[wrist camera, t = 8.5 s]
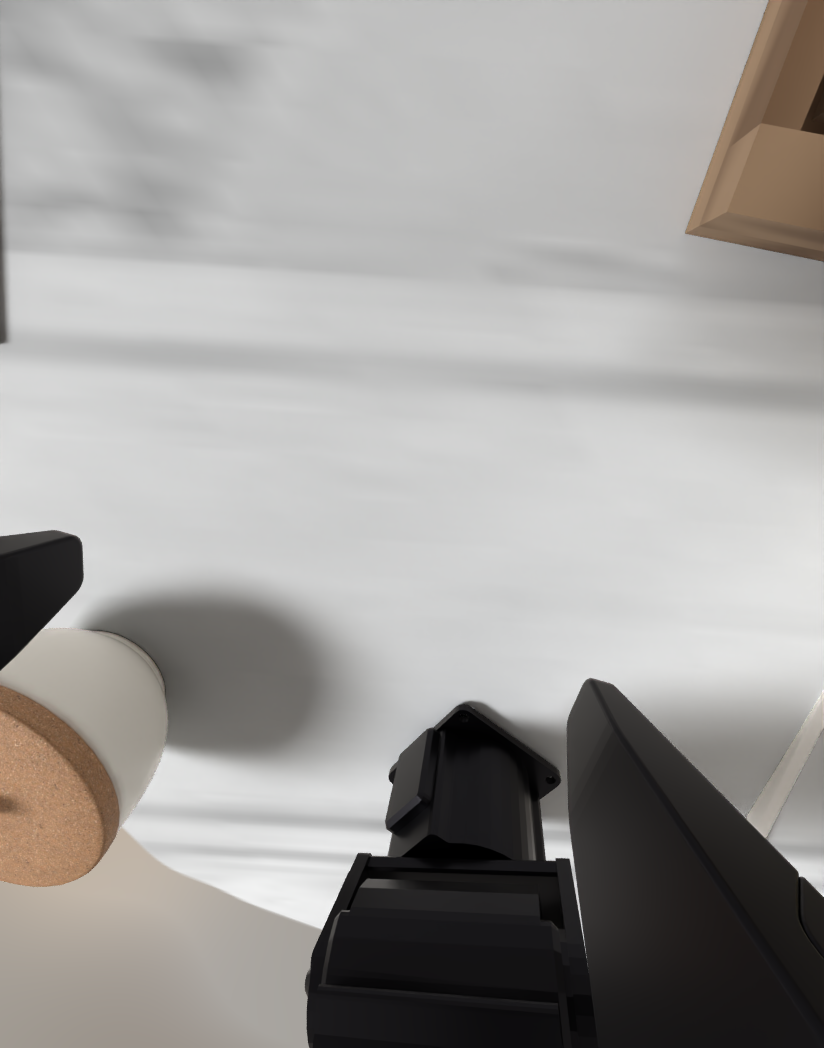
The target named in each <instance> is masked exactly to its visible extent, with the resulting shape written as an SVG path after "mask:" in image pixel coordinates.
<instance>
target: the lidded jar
mask: <svg viewBox="0 0 824 1048" xmlns="http://www.w3.org/2000/svg"><path fill="white" fill-rule="evenodd" d="M167 730H168V710H167V704H166V699H165V685H164V681H163V677H162V675H161V673H160V671H159V669H158V667H157V666H156V664H155V663H154V661H153V660H152V659H151V658H150V656H149V655H148V654H147V653H146V652H145V651H144V650H143V649H141V648H140V647H139V646H137V645H136V644H135V643H133V642H131V641H130V640H128V639H126V638H124V637H122V636H120V635H117V634H114V633H111V632H105V631H88V630H83V629H76V628H48V629H42V630H41V631H40V632H39V633H38V634H37V635H36V636H35V637H34V638H33V639H32V640H31V641H30V643H29V644H28V645H27V646H26V647H25V648H24V649H23V650H22V651H21V652H20V653H19V654H18V655H17V656H16V657H15V658H14V659H13V660H12V661H11V662H9V663H8V664H7V665H6V666H5V667H4V668H3V669H2V670H1V671H0V881H4V882H9V883H13V884H18V885H25V886H33V887H41V886H42V887H47V886H55V885H62V884H65V883H68V882H71V881H74V880H76V879H78V878H80V877H82V876H84V875H85V874H87V873H89V872H90V871H91V869H93V868H94V867H95V866H96V865H97V864H98V862H99V861H100V860H101V859H102V857H103V856H104V854H105V853H106V852H107V850H108V848H109V847H110V845H111V844H112V842H113V840H114V839H115V837H116V834H117V832H118V831H119V830H120V828H121V827H122V826H123V824H124V823H125V822H126V820H127V819H128V817H129V816H130V814H131V813H132V811H133V810H134V808H135V807H136V806H137V804H138V802H139V801H140V799H141V797H142V796H143V794H144V792H145V791H146V789H147V787H148V785H149V784H150V782H151V780H152V778H153V776H154V774H155V772H156V770H157V767H158V765H159V763H160V760H161V757H162V754H163V751H164V747H165V743H166V739H167Z"/></svg>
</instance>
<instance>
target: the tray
mask: <svg viewBox="0 0 824 1048" xmlns="http://www.w3.org/2000/svg"><path fill="white" fill-rule="evenodd" d="M823 93H824V0H769V2H768V4H767V7H766V10H765V13H764V16H763V18H762V21H761V24H760V27H759V29H758V32H757V35H756V38H755V40H754V43H753V46H752V49H751V52H750V54H749V57H748V60H747V63H746V65H745V68H744V71H743V74H742V77H741V79H740V82H739V85H738V88H737V90H736V93H735V96H734V99H733V101H732V104H731V107H730V110H729V113H728V115H727V118H726V121H725V124H724V126H723V129H722V132H721V135H720V138H719V140H718V143H717V146H716V149H715V151H714V154H713V157H712V160H711V162H710V165H709V168H708V171H707V174H706V176H705V179H704V182H703V185H702V187H701V190H700V193H699V196H698V199H697V201H696V204H695V207H694V210H693V212H692V215H691V218H690V221H689V224H688V226H687V229H686V232H685V233H686V234H691V235H696V236H700V237H705V238H710V239H715V240H720V241H725V242H730V243H735V244H740V245H745V246H750V247H755V248H760V249H765V250H770V251H774V252H779V253H784V254H789V255H794V256H799V257H804V258H809V259H814V260H819V261H824V123H823V122H817V121H812V119H813V117H814V114H815V112H816V109H817V107H818V105H819V102H820V100H821V97H822V95H823Z"/></svg>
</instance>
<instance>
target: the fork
mask: <svg viewBox="0 0 824 1048" xmlns="http://www.w3.org/2000/svg"><path fill="white" fill-rule="evenodd" d="M823 728H824V690H823V692H822V693H821V695H820V697H819V698H818V700H817V702H816V703H815V705H814V707H813V708H812V710H811V712H810V713H809V715H808V717H807V718H806V720H805V722H804V723H803V725H802V727H801V728H800V730H799V732H798V733H797V735H796V737H795V738H794V740H793V742H792V743H791V745H790V747H789V748H788V750H787V751H786V753H785V755H784V756H783V758H782V760H781V761H780V763H779V765H778V766H777V768H776V770H775V771H774V773H773V774H772V776H771V778H770V779H769V781H768V783H767V784H766V786H765V787H764V789H763V791H762V792H761V794H760V796H759V797H758V799H757V800H756V802H755V804H754V805H753V807H752V809H751V810H750V812H749V813H748V815H747V817H746V819H747V820H748V821H749V822H750V823H751V824H752V825H753V826H754V827H755V828H756V829H757V830H758V831H759V832H760V833H761V834H762V835H763V836H764V837H765V838H767V836H768V834H769V832H770V830H771V828H772V826H773V824H774V822H775V820H776V818H777V816H778V815H779V813H780V811H781V809H782V807H783V805H784V803H785V801H786V799H787V797H788V795H789V793H790V791H791V790H792V788H793V786H794V784H795V782H796V780H797V778H798V776H799V774H800V772H801V770H802V768H803V767H804V765H805V763H806V761H807V759H808V757H809V755H810V753H811V751H812V749H813V747H814V745H815V743H816V742H817V740H818V738H819V736H820V734H821V732H822V730H823Z"/></svg>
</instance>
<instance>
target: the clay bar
mask: <svg viewBox="0 0 824 1048" xmlns="http://www.w3.org/2000/svg"><path fill="white" fill-rule="evenodd" d="M812 121H817V122H823V123H824V93H823V95H822V97H821V100H820V102H819V105H818V107H817V109H816V112H815V114H814V117H813V119H812Z"/></svg>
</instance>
